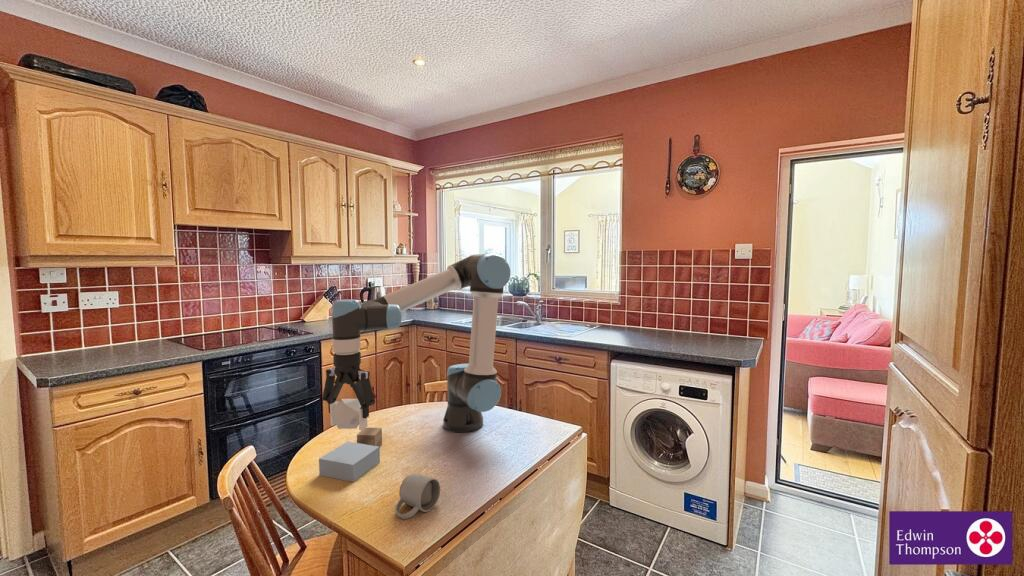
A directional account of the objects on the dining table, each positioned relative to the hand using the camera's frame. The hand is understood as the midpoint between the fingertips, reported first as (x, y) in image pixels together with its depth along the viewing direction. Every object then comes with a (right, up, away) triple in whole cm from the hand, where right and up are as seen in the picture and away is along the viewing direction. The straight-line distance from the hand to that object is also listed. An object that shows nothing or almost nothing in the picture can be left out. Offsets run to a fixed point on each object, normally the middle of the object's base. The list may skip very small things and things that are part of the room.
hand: (348, 426), depth 123 cm
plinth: (0, -13, +1) cm, 13 cm away
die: (0, 0, 0) cm, 0 cm away
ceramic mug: (+25, -15, -19) cm, 34 cm away
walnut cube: (+1, -12, +14) cm, 19 cm away
